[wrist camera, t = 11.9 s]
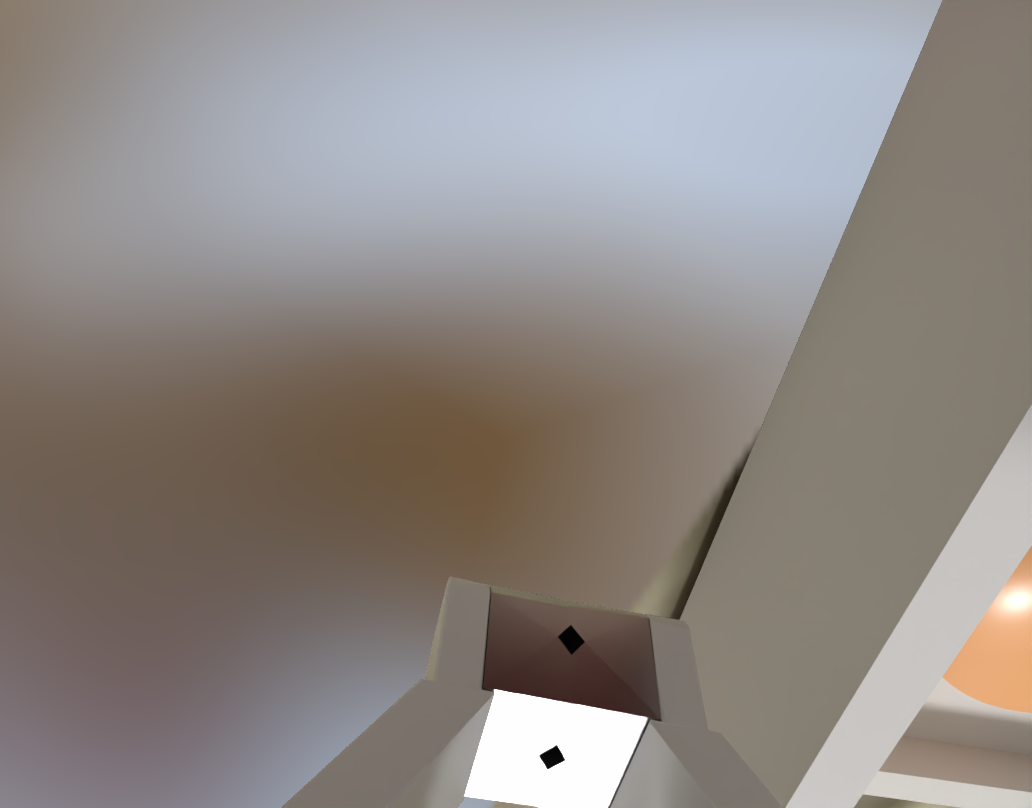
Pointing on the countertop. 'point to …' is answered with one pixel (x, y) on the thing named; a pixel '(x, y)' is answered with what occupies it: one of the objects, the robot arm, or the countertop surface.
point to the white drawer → (893, 463)
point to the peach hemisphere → (1000, 648)
